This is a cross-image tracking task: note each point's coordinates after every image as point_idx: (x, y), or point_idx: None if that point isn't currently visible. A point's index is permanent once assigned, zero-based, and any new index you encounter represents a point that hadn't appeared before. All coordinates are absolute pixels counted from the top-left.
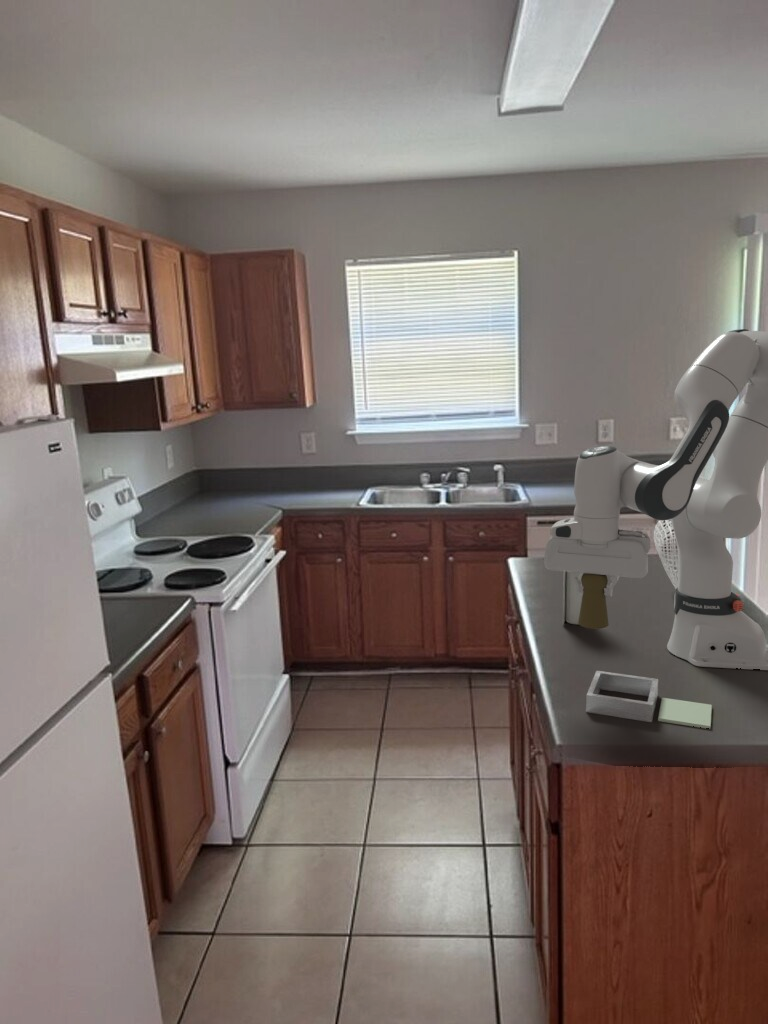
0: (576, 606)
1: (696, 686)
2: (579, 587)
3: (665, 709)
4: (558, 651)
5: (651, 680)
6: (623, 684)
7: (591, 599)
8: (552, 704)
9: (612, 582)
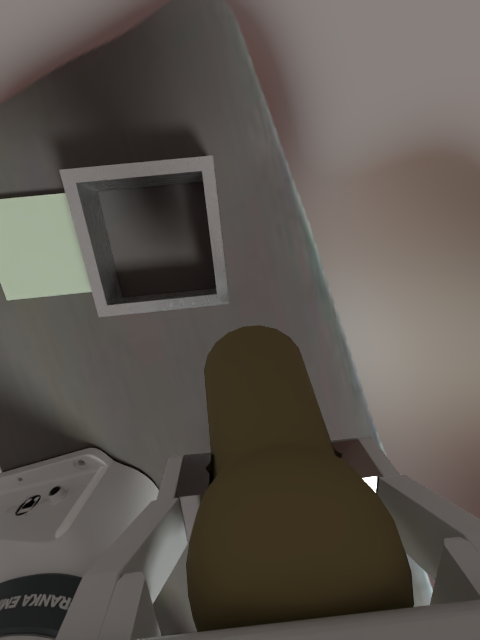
0: None
1: (68, 373)
2: (370, 463)
3: (73, 239)
4: (329, 410)
5: (109, 305)
6: (171, 295)
7: (270, 398)
8: (287, 173)
9: (131, 553)
